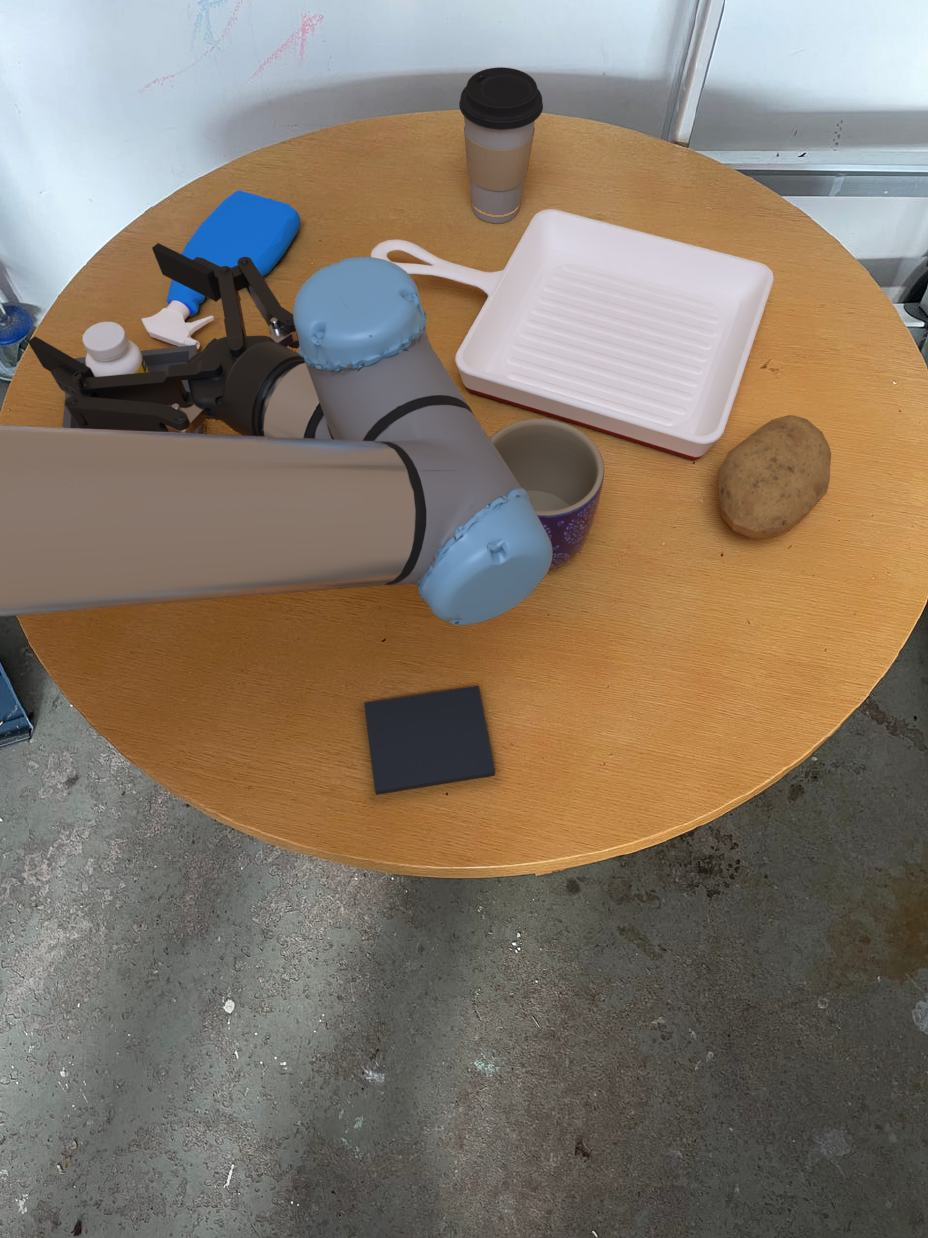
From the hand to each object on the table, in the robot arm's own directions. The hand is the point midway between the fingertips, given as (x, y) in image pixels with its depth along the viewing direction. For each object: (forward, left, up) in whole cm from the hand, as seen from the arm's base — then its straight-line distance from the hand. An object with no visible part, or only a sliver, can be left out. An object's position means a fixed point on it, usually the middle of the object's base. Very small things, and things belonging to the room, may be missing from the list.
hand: (101, 303), depth 72 cm
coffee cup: (+41, +34, -19) cm, 56 cm away
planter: (+35, -16, -19) cm, 43 cm away
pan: (+43, +12, -19) cm, 48 cm away
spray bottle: (+6, +26, -19) cm, 33 cm away
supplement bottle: (-3, +7, -19) cm, 20 cm away
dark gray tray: (-3, +7, -19) cm, 20 cm away
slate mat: (+22, -35, -19) cm, 46 cm away
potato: (+58, -16, -19) cm, 63 cm away
